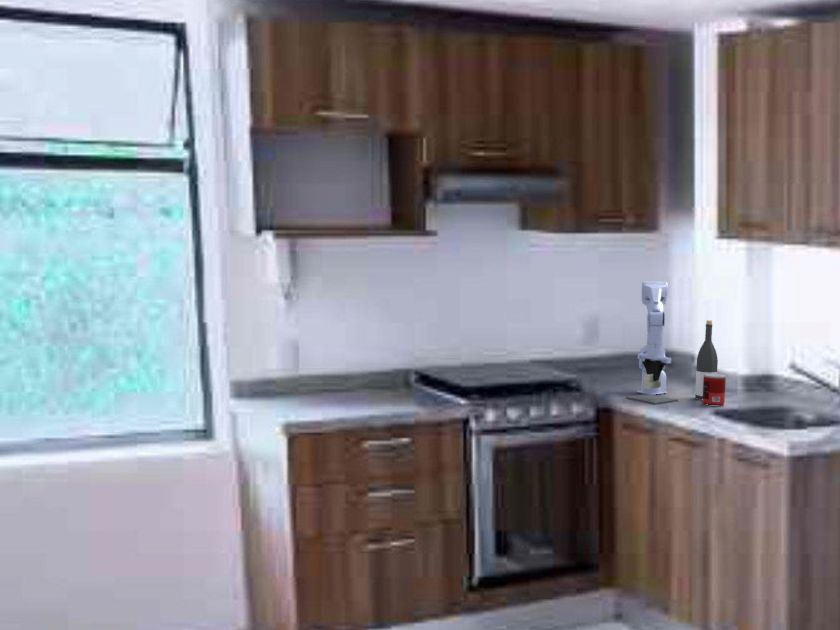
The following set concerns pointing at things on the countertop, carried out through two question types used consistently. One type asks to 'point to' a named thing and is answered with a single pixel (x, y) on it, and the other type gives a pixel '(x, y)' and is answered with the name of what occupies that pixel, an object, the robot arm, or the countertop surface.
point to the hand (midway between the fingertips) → (653, 380)
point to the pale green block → (651, 382)
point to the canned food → (714, 389)
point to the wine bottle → (705, 360)
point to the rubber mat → (651, 398)
